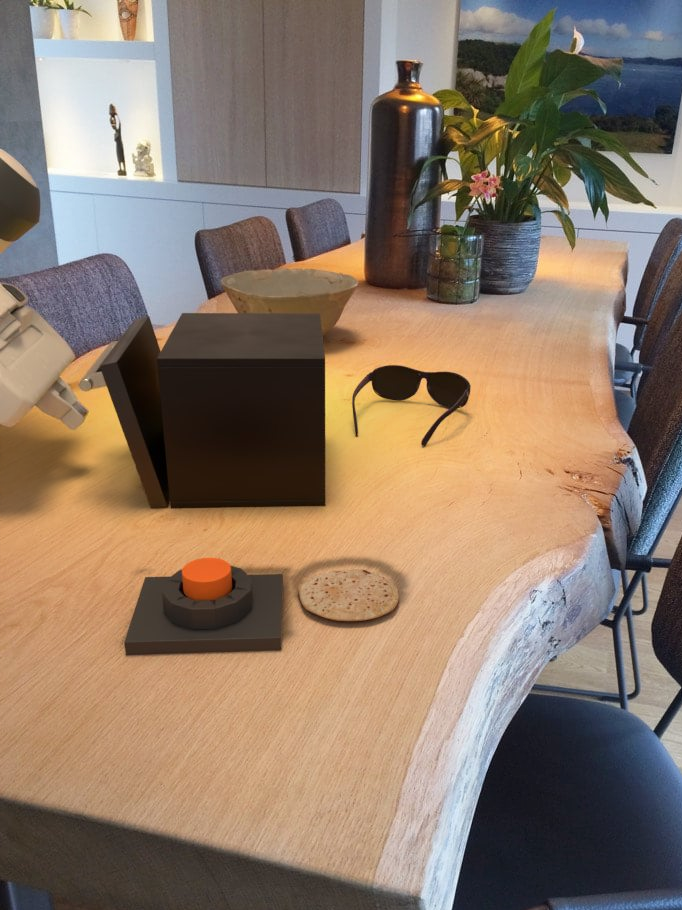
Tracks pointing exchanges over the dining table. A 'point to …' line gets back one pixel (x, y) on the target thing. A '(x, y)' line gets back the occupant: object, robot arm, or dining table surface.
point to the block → (207, 617)
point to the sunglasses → (405, 384)
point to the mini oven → (244, 410)
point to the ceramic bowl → (291, 292)
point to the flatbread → (348, 595)
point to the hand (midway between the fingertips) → (82, 422)
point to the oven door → (136, 402)
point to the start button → (207, 579)
